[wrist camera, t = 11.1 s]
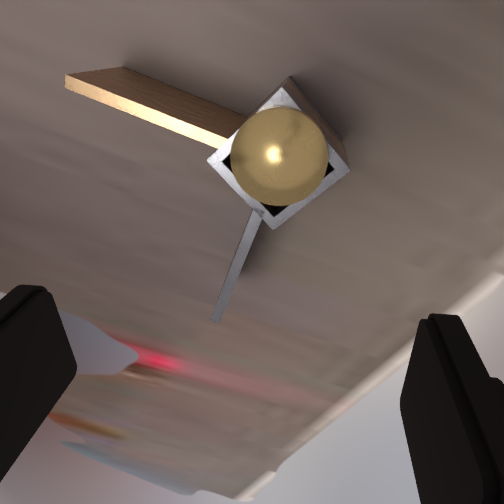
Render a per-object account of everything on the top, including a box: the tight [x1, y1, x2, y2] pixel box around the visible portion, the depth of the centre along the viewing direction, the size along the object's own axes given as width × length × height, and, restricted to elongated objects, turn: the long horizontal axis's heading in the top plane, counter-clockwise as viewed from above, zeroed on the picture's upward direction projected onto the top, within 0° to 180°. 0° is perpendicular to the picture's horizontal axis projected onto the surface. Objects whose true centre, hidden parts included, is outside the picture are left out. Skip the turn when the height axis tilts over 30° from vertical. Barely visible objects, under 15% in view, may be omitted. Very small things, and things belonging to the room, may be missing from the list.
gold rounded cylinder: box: [230, 106, 328, 206], centre depth 27 cm, size 6×6×8 cm
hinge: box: [65, 67, 351, 323], centre depth 29 cm, size 16×20×8 cm
